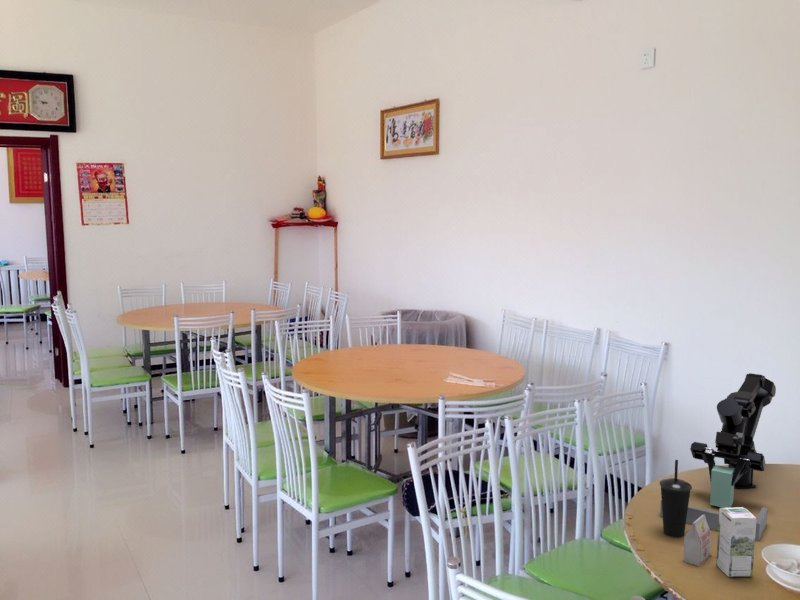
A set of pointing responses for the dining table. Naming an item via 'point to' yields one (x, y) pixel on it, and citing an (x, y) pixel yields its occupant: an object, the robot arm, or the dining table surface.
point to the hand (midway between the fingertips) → (721, 483)
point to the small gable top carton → (697, 542)
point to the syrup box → (736, 542)
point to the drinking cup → (674, 504)
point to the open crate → (713, 519)
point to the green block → (722, 486)
